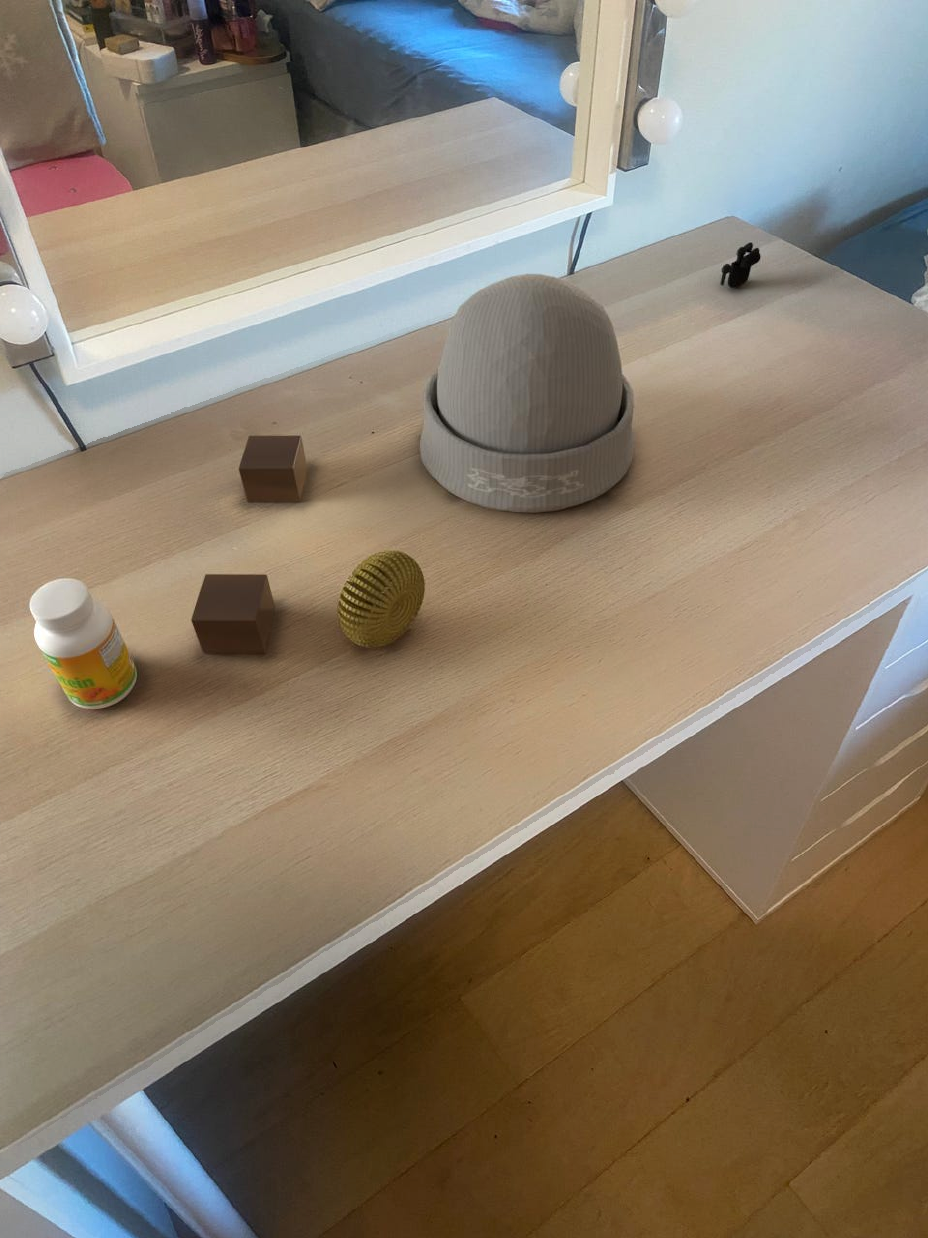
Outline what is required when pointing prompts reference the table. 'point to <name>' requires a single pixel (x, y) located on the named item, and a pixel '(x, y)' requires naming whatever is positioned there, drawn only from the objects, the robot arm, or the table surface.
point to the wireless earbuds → (740, 266)
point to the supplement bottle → (82, 644)
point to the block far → (273, 468)
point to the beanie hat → (529, 399)
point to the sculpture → (381, 599)
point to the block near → (234, 613)
